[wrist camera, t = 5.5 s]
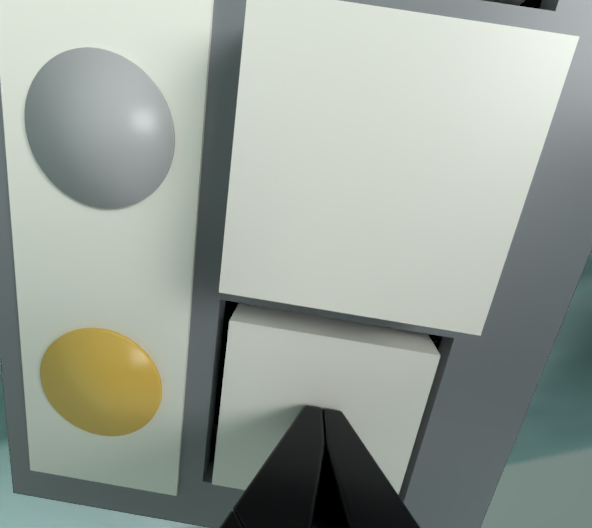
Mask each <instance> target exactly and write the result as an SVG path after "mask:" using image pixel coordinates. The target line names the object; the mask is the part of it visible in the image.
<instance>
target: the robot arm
mask: <svg viewBox="0 0 592 528" xmlns="http://www.w3.org/2000/svg"><path fill="white" fill-rule="evenodd" d="M219 528H420V526H419V525H418V523H417V522H416V520H415V519H414V517H413V516H412V515H411V513H410V512H409V510H408V509H407V507H406V506H405V504H404V503H403V501H402V500H401V498H400V497H399V495H398V494H397V492H396V491H395V489H394V488H393V486H392V485H391V483H390V482H389V480H388V479H387V477H386V476H385V474H384V473H383V472H382V470H381V469H380V467H379V466H378V464H377V463H376V461H375V460H374V458H373V457H372V455H371V454H370V452H369V451H368V449H367V448H366V446H365V445H364V443H363V442H362V440H361V439H360V437H359V436H358V434H357V433H356V432H355V430H354V429H353V427H352V426H351V424H350V423H349V421H348V420H347V418H346V417H345V415H344V414H343V412H342V411H340V410H335V409H329V408H325V409H323V410H322V408H321V407H317V406H311V405H304V406H303V408H302V409H301V411H300V412H299V413H298V415H297V416H296V418H295V419H294V421H293V422H292V424H291V425H290V426H289V428H288V429H287V431H286V432H285V434H284V435H283V436H282V438H281V439H280V441H279V442H278V444H277V445H276V447H275V448H274V449H273V451H272V452H271V454H270V455H269V457H268V458H267V460H266V461H265V462H264V464H263V465H262V467H261V468H260V470H259V471H258V472H257V474H256V475H255V477H254V478H253V480H252V481H251V483H250V484H249V485H248V487H247V488H246V490H245V491H244V493H243V494H242V496H241V497H240V498H239V500H238V501H237V503H236V504H235V506H234V507H233V509H232V511H230V512H229V514H228V515H227V517H226V518H225V520H224V521H223V522H222V524H221V525H220V527H219Z"/></svg>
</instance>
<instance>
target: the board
mask: <svg viewBox="0 0 592 528" xmlns="http://www.w3.org/2000/svg"><path fill="white" fill-rule="evenodd" d="M246 1H247V0H0V359H1V369H2V379H3V390H4V400H5V411H6V421H7V431H8V442H9V452H10V463H11V473H12V483H13V493H17V494H23V495H29V496H34V497H40V498H46V499H51V500H57V501H63V502H68V503H74V504H79V505H85V506H91V507H96V508H102V509H108V510H113V511H119V512H124V513H130V514H136V515H141V516H147V517H153V518H158V519H164V520H170V521H175V522H181V523H186V524H192V525H198V526H203V527H209V528H219V527H220V525H221V524H222V522H223V521H224V520H225V518H226V517H227V515H228V514H229V512H230V511H232V509H233V507H234V506H235V504H236V503H237V501H238V500H239V498H240V497H241V496H242V494H243V493H244V491H245V490H241V489H236V488H230V487H224V486H219V485H213V484H212V477H213V468H214V459H215V449H216V440H217V431H218V425H214V424H213V420H214V411H215V401H216V391H217V381H218V371H219V362H220V352H221V342H222V332H223V323H224V313H225V303H226V300H227V301H233V302H239V303H245V304H251V305H257V306H263V307H269V308H275V309H281V310H287V311H293V312H299V313H305V314H311V315H317V316H323V317H329V318H335V319H341V320H347V321H353V322H359V323H365V324H371V325H377V326H383V327H389V328H395V329H401V330H407V331H413V332H419V333H425V334H431V335H437V336H442V338H441V342H440V345H439V348H438V352H439V354H440V355H441V356H440V360H439V363H438V366H437V369H436V373H435V376H434V379H433V383H432V386H431V389H430V393H429V396H428V399H427V403H426V406H425V409H424V413H423V416H422V419H421V423H420V426H419V429H418V433H417V436H416V439H415V442H414V446H413V449H412V452H411V456H410V459H409V462H408V466H407V469H406V472H405V476H404V479H403V482H402V486H401V489H400V492H399V497H400V498H401V500H402V501H403V503H404V504H405V506H406V507H407V509H408V510H409V512H410V513H411V515H412V516H413V517H414V519H415V520H416V522H417V523H418V525H419V526H420V528H480V527H481V525H482V522H483V520H484V517H485V515H486V512H487V510H488V507H489V505H490V502H491V500H492V497H493V495H494V492H495V490H496V487H497V485H498V482H499V480H500V477H501V475H502V472H503V470H504V467H505V465H506V462H507V460H508V457H509V455H510V452H511V450H512V447H513V445H514V442H515V440H516V437H517V435H518V432H519V430H520V427H521V425H522V422H523V420H524V417H525V415H526V412H527V410H528V407H529V405H530V402H531V400H532V397H533V395H534V392H535V390H536V387H537V385H538V382H539V380H540V377H541V375H542V372H543V370H544V367H545V364H546V362H547V359H548V357H549V354H550V352H551V349H552V347H553V344H554V342H555V339H556V337H557V334H558V332H559V329H560V327H561V324H562V322H563V319H564V317H565V314H566V312H567V309H568V307H569V304H570V302H571V299H572V297H573V294H574V292H575V289H576V287H577V284H578V282H579V279H580V277H581V274H582V272H583V269H584V267H585V264H586V262H587V259H588V257H589V254H590V252H591V249H592V0H542V2H541V5H540V9H537V8H530V7H523V6H516V5H510V4H503V3H496V2H490V1H483V0H340V1H347V2H353V3H360V4H367V5H373V6H380V7H387V8H393V9H400V10H407V11H413V12H420V13H427V14H433V15H440V16H447V17H453V18H460V19H467V20H473V21H480V22H487V23H493V24H500V25H507V26H513V27H520V28H527V29H533V30H540V31H547V32H553V33H560V34H567V35H573V36H580V37H579V40H578V43H577V46H576V49H575V52H574V55H573V58H572V61H571V64H570V67H569V70H568V73H567V76H566V79H565V82H564V85H563V88H562V91H561V94H560V97H559V100H558V103H557V106H556V109H555V112H554V116H553V119H552V122H551V125H550V128H549V131H548V134H547V137H546V140H545V143H544V146H543V149H542V152H541V155H540V158H539V161H538V164H537V167H536V170H535V173H534V176H533V179H532V182H531V185H530V188H529V191H528V194H527V197H526V200H525V203H524V206H523V209H522V212H521V215H520V218H519V221H518V224H517V227H516V230H515V233H514V236H513V239H512V242H511V245H510V248H509V251H508V254H507V257H506V260H505V263H504V266H503V269H502V272H501V275H500V278H499V281H498V285H497V288H496V291H495V294H494V297H493V300H492V303H491V306H490V309H489V312H488V315H487V318H486V321H485V324H484V327H483V330H482V333H481V336H479V335H473V334H467V333H461V332H455V331H449V330H443V329H437V328H431V327H425V326H419V325H413V324H407V323H400V322H394V321H388V320H382V319H376V318H370V317H364V316H358V315H352V314H346V313H340V312H334V311H328V310H322V309H316V308H310V307H304V306H298V305H292V304H286V303H280V302H274V301H268V300H262V299H256V298H250V297H244V296H237V295H231V294H225V293H219V284H220V273H221V263H222V252H223V242H224V231H225V221H226V210H227V200H228V189H229V179H230V168H231V158H232V147H233V137H234V127H235V116H236V106H237V95H238V85H239V74H240V64H241V53H242V43H243V32H244V22H245V11H246Z"/></svg>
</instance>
